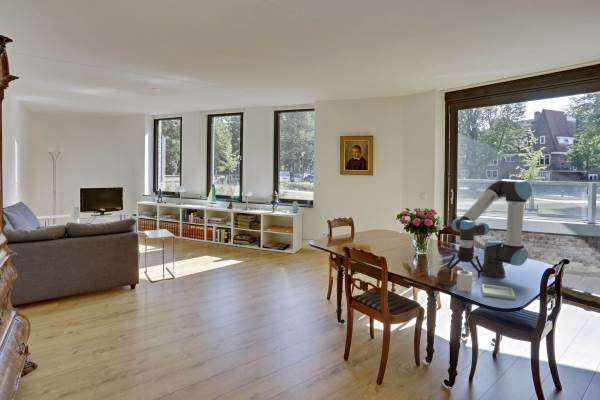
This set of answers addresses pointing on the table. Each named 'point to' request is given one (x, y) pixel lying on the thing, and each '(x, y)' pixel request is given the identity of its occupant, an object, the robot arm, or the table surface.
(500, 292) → the tray
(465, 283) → the hollow block
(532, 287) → the table surface
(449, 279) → the bread
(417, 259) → the table surface
